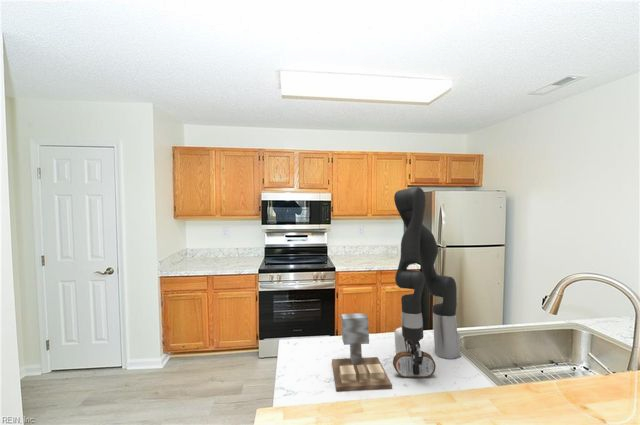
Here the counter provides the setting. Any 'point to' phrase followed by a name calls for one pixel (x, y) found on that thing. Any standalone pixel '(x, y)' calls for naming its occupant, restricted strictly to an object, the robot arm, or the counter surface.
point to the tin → (405, 365)
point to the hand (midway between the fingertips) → (414, 371)
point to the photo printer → (399, 341)
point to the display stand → (358, 359)
